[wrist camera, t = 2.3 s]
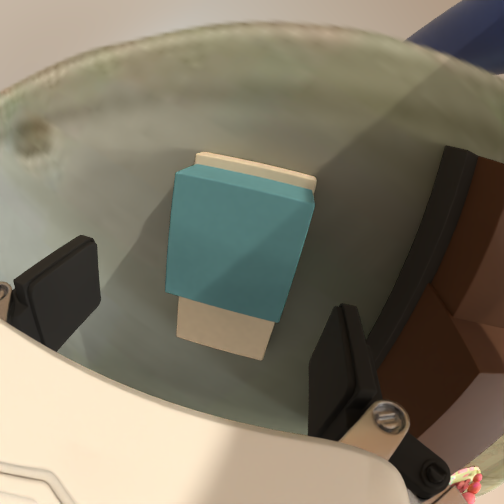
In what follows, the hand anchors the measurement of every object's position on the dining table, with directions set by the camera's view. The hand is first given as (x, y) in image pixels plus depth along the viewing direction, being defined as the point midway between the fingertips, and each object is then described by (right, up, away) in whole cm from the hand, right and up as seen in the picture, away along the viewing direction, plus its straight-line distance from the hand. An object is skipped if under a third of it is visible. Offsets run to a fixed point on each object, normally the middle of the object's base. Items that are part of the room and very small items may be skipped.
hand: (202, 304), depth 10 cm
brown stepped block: (+14, -4, +7) cm, 16 cm away
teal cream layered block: (+1, +1, +7) cm, 7 cm away
